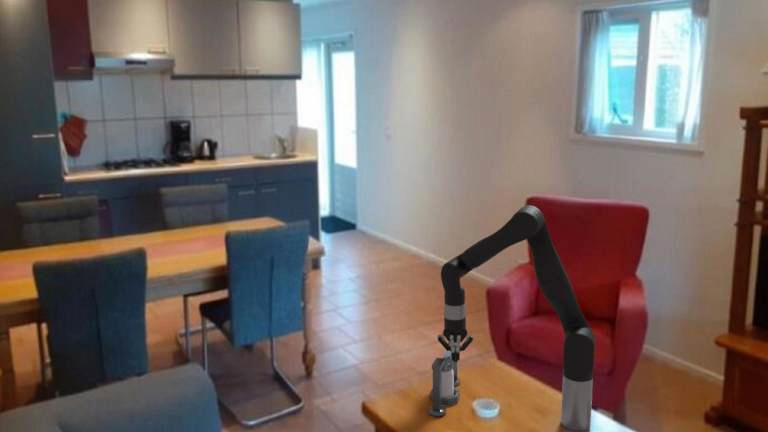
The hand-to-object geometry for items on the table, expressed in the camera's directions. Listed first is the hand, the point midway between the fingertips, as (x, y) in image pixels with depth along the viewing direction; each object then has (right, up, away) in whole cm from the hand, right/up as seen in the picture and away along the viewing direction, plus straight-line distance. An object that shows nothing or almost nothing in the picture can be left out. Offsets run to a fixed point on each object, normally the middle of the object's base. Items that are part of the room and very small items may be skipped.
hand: (455, 361), depth 221 cm
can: (-4, -14, +2) cm, 15 cm away
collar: (-4, -14, +2) cm, 15 cm away
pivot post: (+1, -11, +13) cm, 18 cm away
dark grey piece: (-7, -16, -7) cm, 19 cm away
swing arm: (-2, 0, +3) cm, 3 cm away
